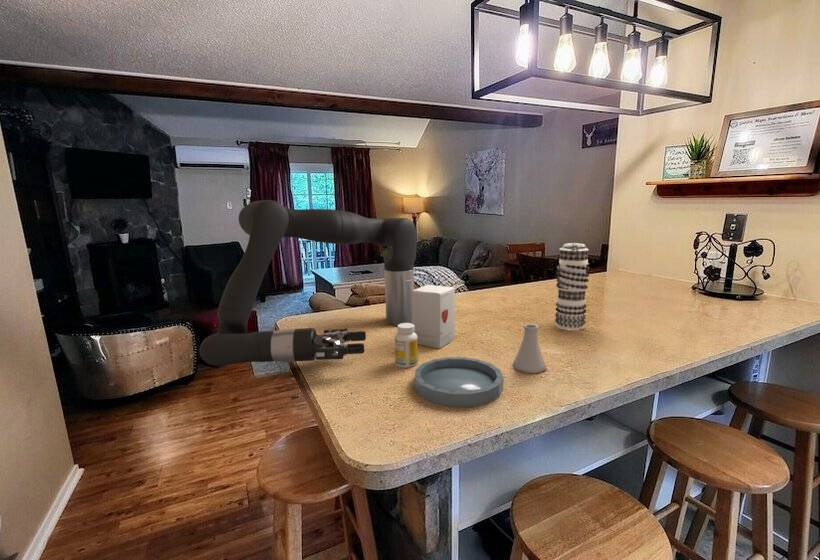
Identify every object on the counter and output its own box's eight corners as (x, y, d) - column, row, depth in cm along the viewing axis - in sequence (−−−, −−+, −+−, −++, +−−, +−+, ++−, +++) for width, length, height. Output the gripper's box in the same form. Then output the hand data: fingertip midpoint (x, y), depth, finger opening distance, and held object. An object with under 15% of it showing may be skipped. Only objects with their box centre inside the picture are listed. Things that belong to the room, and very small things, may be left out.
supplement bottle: (396, 369, 92) (394, 329, 90) (394, 360, 98) (393, 322, 96) (419, 367, 93) (418, 328, 91) (416, 358, 98) (415, 321, 96)
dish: (434, 363, 95) (434, 352, 95) (510, 375, 87) (510, 364, 87) (400, 395, 79) (400, 383, 79) (489, 414, 72) (489, 401, 71)
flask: (552, 371, 89) (554, 329, 87) (524, 376, 87) (525, 332, 85) (534, 359, 96) (535, 319, 94) (507, 363, 94) (508, 323, 92)
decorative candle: (593, 327, 119) (598, 243, 115) (573, 333, 114) (578, 246, 110) (566, 320, 127) (571, 241, 122) (547, 325, 122) (551, 243, 117)
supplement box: (440, 349, 104) (439, 293, 101) (411, 343, 109) (410, 290, 106) (455, 339, 112) (455, 286, 109) (428, 334, 116) (427, 284, 113)
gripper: (286, 339, 85) (362, 336, 86) (299, 320, 99) (365, 317, 100) (289, 373, 86) (364, 369, 87) (302, 349, 100) (366, 346, 101)
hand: (364, 341), depth 93 cm, fingers open, 8 cm apart
